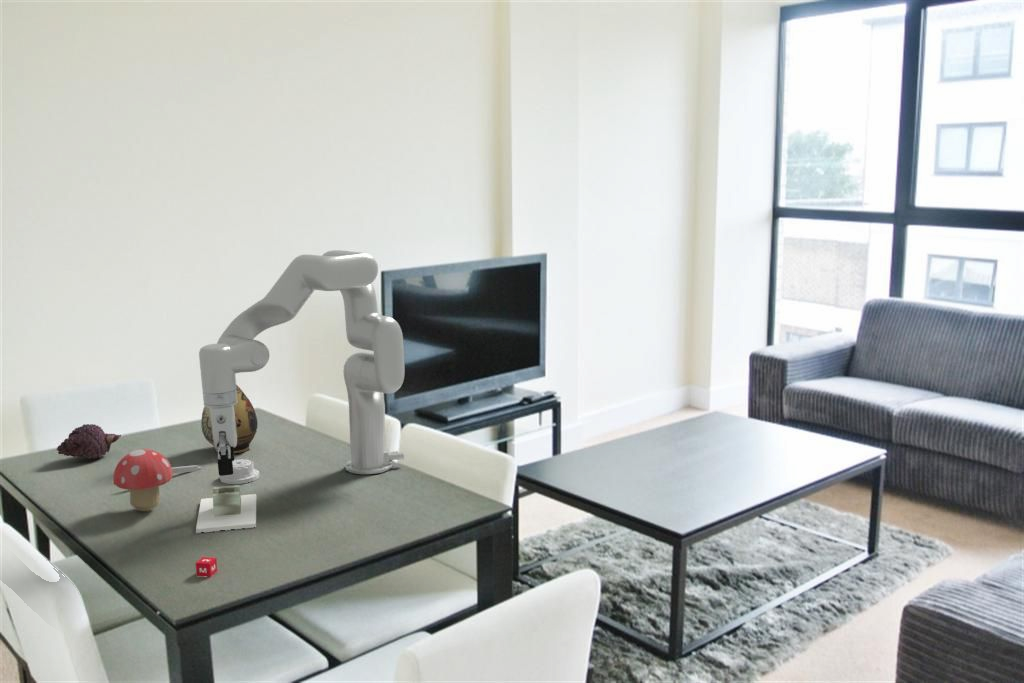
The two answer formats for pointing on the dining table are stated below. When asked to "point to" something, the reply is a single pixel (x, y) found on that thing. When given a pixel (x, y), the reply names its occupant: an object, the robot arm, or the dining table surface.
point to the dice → (206, 566)
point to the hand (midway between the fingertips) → (226, 467)
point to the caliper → (185, 469)
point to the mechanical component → (241, 473)
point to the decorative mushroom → (143, 477)
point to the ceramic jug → (244, 423)
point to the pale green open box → (226, 500)
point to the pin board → (227, 516)
